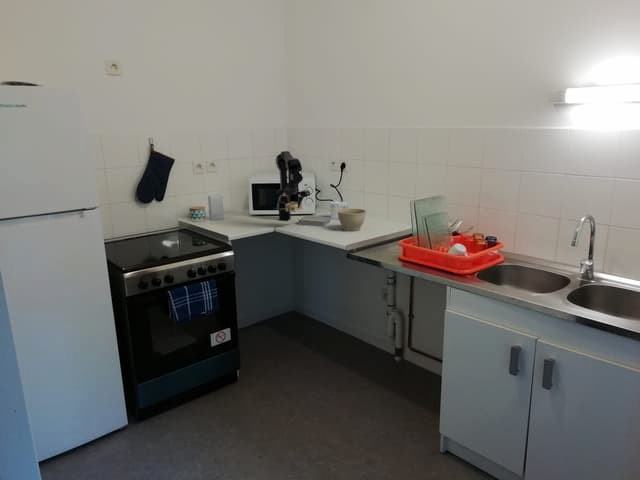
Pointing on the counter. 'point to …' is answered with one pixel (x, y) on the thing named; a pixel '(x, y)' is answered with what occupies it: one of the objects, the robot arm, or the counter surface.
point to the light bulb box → (337, 208)
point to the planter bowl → (351, 218)
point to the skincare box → (215, 207)
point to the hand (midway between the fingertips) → (293, 207)
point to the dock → (314, 221)
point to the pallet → (293, 206)
